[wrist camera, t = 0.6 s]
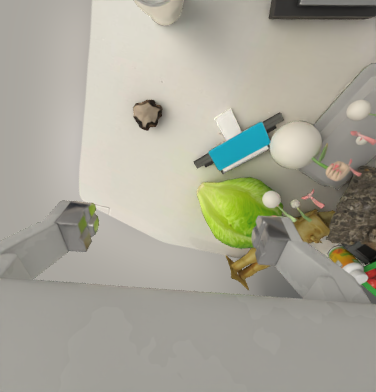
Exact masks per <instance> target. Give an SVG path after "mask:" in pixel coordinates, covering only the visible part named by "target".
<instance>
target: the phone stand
mask: <svg viewBox="0 0 376 392" xmlns="http://www.w3.org/2000/svg"><path fill="white" fill-rule="evenodd" d="M214 119H215V121H216V123H217V125H218V127H219V129H220V131H221V133H222V135H223V136H224V138H225V140H226V141H224V142H223V143H221V144H219V145H218V146H217V147H215V148H213V149H211V150H210V151H209V153H208V154H206V155H204V156H203V157H201V158H199V159H198V160H196V161H194V164H195V166H196V167H197V169H198V168H199V167H201V166H203V165H204V166H205V167H207V166H209V165H211V164H213V163H214V164H215V165H216V167H217V169H218V170H219V171H221V172H222V174H224V173H226V172H229V171H230V170H231V169H233V168H236V167H237V166H239V165H241V164H243V163H244V162H246V161H248V160H250V159H252V158H254V157H256V156H258V155H259V154H261V153H263V152H265V151H267V150H269V149H270V145H269V144H270V139H269V137H268V134H267V133H269V132H271V131H272V130H274V129H276V124H278V123H280V122H281V121H283V120H284V119H283V117H282V114H280V113H278V114H276V115H274V116H273V117H271V118H269V119H267V120H265V121H264V122H258V123H257V124H255V125H253V126H251V127H249V128H247V129H245V130H243V131H241V129H240V127H239V125H238V123H237V121H236V119H235V117H234V114H233V112H232V110H231V108H230V109H228V110H226V111H225V112H223V113H221V114H220V115H218V116H216V117H215V118H214Z"/></svg>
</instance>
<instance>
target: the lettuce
mask: <svg viewBox="0 0 376 392" xmlns="http://www.w3.org/2000/svg"><path fill="white" fill-rule="evenodd" d="M268 191H274V190H272V189H271V188H270V187H268V186H267V185H265V184H264V183H263V182H262V181H260V180H257V179H254V178H251V177H249V178H237V179H231V180H226V181H223V182H219V183H213V182H203V183H201V185H200V186H199V188H198V190H197V197H198V199H199V202H200V206H201V210H202V213H203V216H204V218H205V220H206V222H207V224H208V226H209V227H210V229H211V231H212V233H213V234H214V236H215V238H217V239H218V240H219V241H221V242H222V243H224V244H226V245H228V246H230V247H235V248H241V249H242V248H254V247H253V244H252V231H253V228H254V227H255V226H257V224H256V219H257V217H258V216H272V215H275V216H282V211H281V210H280V209H279V207H278V206H277V207H275V208H268V207H266V206H265V205H264V204H263V201H262V198H263V195H264V194H265V193H266V192H268ZM279 206H280V207H281V208H282V209H283V205H282V203H281V202H280V204H279Z"/></svg>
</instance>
